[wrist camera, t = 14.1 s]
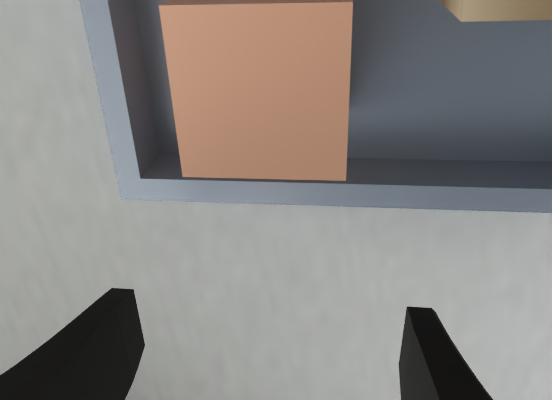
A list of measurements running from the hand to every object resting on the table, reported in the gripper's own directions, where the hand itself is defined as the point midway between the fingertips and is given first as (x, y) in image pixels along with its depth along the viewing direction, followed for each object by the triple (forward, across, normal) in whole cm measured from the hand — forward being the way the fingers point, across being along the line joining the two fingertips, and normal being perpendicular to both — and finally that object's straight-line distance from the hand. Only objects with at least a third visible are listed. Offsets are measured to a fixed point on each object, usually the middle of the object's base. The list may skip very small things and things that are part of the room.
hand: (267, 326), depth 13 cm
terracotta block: (+6, 0, -6) cm, 8 cm away
